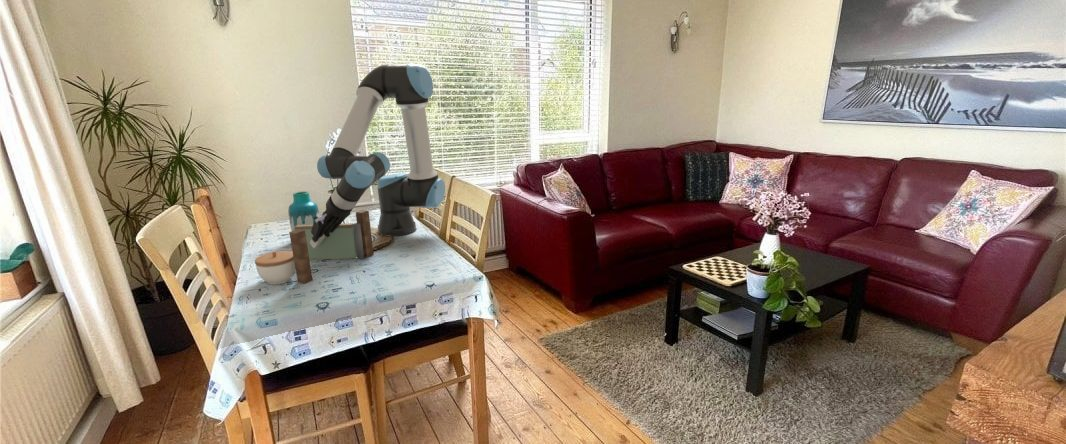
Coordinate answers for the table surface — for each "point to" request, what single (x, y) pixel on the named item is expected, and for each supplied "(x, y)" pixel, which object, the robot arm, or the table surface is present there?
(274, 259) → the lidded jar
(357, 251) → the gate
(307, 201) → the vase
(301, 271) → the gate posts
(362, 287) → the table surface
